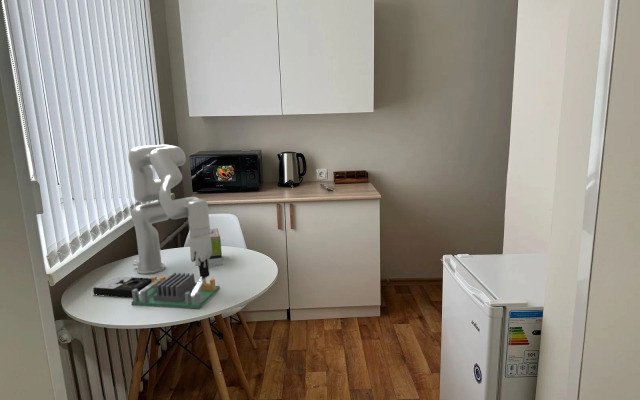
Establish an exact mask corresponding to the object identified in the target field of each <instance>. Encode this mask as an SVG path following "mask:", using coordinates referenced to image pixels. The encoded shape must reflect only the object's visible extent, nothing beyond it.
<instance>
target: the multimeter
mask: <svg viewBox="0 0 640 400" xmlns="http://www.w3.org/2000/svg"><path fill="white" fill-rule="evenodd" d="M151 278H152V277H150V278H148V277H147V278H146V277H134V276H133V277H132V276H118V275H116V276H112V277H110V278H108V279H107V280H105V281H103V282H101V283H99V284H98V285H96V286H94V287H93V290H92V292H93V295H94V294H97V295H96V296H99V295H104V297H114V298H129V299H133V297H132V290H134V289H138V292H139V291H140V290H142V289H143V288H145V287H146V286H148V285H149V284H150V283H152V279H151Z"/></svg>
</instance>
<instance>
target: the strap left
mask: <svg viewBox="0 0 640 400" xmlns="http://www.w3.org/2000/svg"><path fill="white" fill-rule="evenodd" d="M160 282H161V281H160V278H157V279H156V280H155V281H153V282H152V283H150V284H149V285H148V286H146V287H145V288H143V289H142V290H144V289H147V292H148V291H149V290H150V289H152V288H153V287H155V286H156V285H157V284H159V283H160ZM142 290H140V291H139V292H137V293H136V295H138V296H142V294H141V291H142Z"/></svg>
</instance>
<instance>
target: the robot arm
mask: <svg viewBox="0 0 640 400" xmlns="http://www.w3.org/2000/svg"><path fill="white" fill-rule="evenodd" d="M127 158H128V164H129V166H130V169H131V171H132V182H133V185H132V186H133V197H134V199H135V200H136V202H138V203H141V204H139V205H138V204H137V205H136V206H134V207H133V208H132V210H131V213H130V214H131V219H132V221H133V225H134V229H135V235H136V244H137V252H138V259H134V260H133V262H132V265H133V266H137V268H136V272H137V273H138V274H141V275H151V274H156V273H159V272H162V271H163V270H165V269H166V264H165V263H163V262H162V255H161V247H160V237H159V232H158V230H157V228H156V227H154V226H153V224H157V223H160V222H164V221H168V220H169V219H171V220H178V219H182V218H188V225H189V233H190V240H189V250H190V251H189V252H190V253H189V254H190V261H191V262H192V263H195V267H198V269H199V278H200V277H207V278H208V277H209V276H210V268H209V266H208V265H209V258H210V256H211V255H212V244H211V238H210V229H211V226H210V225H211V224H210V217H209V205H208V201H207V200H206V199H204V198H203V199H202V198H201V199H200V198H199V197H196V196H189V197H183V198H177V199H172V193H171V189H173V188H174V187H175V186H178V184H180V183H181V181H182V180H183V174H182V172H181V170H180V168H179V167H181V166H184V165H185V163H186V160H187V159H186V153H185V152H184V150H183V149H182V148H181V147H179V146H176V145H170V144H155V145H152V144H151V145H141V146H136V147H133V148H131V149H130V150H129V153H128V156H127ZM151 166H152V167H153V168H152V167H151ZM153 169H154V170H153ZM154 171H155V173H156V175H157V177H158V178H155V179H154Z"/></svg>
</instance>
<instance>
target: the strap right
mask: <svg viewBox="0 0 640 400" xmlns="http://www.w3.org/2000/svg"><path fill="white" fill-rule="evenodd" d="M207 278H208V277H200V276H199V279H198V280H197V282H196V283H197V284H196V286H195V288H194V289H193V291H192V293H191V295H190V296H189V298H192V299H195V293H196V292H199V291H200V289H201V287H202V285H203V283H204V281H205V280H206V281H207Z"/></svg>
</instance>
